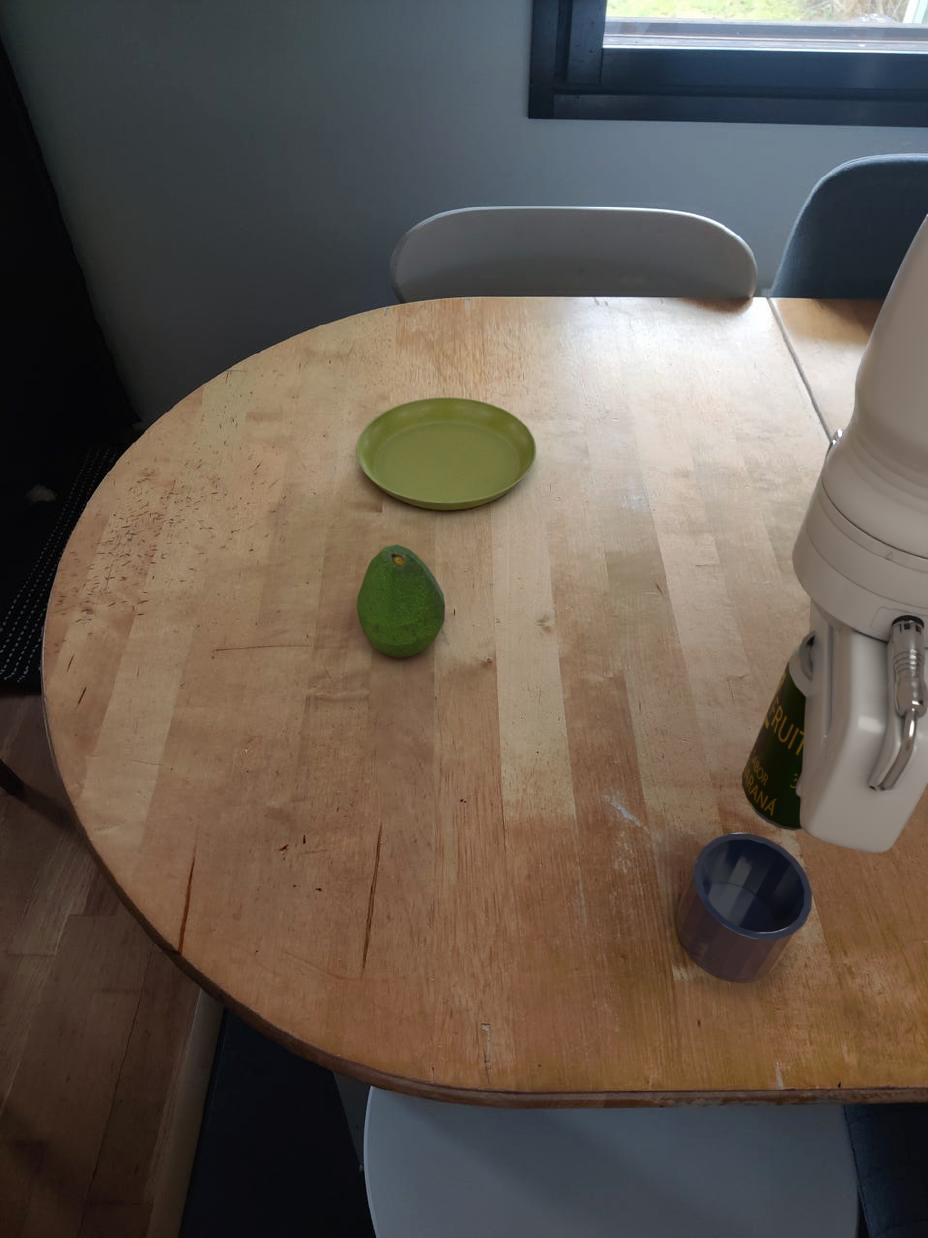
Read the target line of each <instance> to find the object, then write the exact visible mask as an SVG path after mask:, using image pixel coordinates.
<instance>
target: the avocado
mask: <svg viewBox="0 0 928 1238" xmlns="http://www.w3.org/2000/svg"><path fill="white" fill-rule="evenodd" d="M356 611H357V617H358V622H359V625H360V627H361V629H362V632H363V633H364V635H365V636H366V638H367V641H369V643H370V644H371V646H373V647H374V649H376V650H378V651H379V652H381V653H382V654H384V655H386V656H389V657H394V658H398V659H400V658H408V657H412V656H415V655H417V654H420V653H421V652H423V651H425V650H426V649H428V648H429V647H430V646H431V645H432V644H433V643H434V641H436V638H437V637H438V635H439V633H440V631H441V629H442V627H443V625H444V623H445V621H446V620H445V617H446V603H445V595H444V593H443V590H442V589H441V587H440V584H439V582H438V581H437V578H436V577H435V575H434V574H433V572H432V570H431V569H430V568H429V566H427V565H426V563H425V562H424V561H423V560H422V559H421V558H420V557H419V556H418V555H417V553H415V552H413V550H411V549H410V548H408V547H406V546H402V545H400V544H394V545H392V544H391V545H388V546H384V547H383V548H382V549H381V550H380V551H379V552H377V554H375V556H374V557H373V558H372V559H371V561H369V564H368V566H367V568H366V571H365V574H364V577H363V580H362V583H361V586H360V588H359V591H358V595H357V600H356Z"/></svg>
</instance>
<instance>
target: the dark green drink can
mask: <svg viewBox="0 0 928 1238" xmlns="http://www.w3.org/2000/svg"><path fill="white" fill-rule="evenodd" d="M814 634H815V630H814V631H812V632H810V633H809V632H808V634H806V636H804V637H803V639H802V641H801V643H800V644H798V645H797V646H796V647H795V648H794V649H792V652H791V655H790V657H789V659H788V661H787V664H786V666H785V669H784V670H783V674H782V676H781V679H780V681H779V683H778V686H777V688H776V690H775V693H774V695H773V698H772V700H771V703H770V705H769V708H768V710H767V712H766V715H765V717H764V719H763V722H762V724H761V727H760V730H759V732H758V734H757V737H756V739H755V742H754V744H753V746H752V748H751V751H750V753H749V756H748V759H747V761H746V764H745V766H744V768H743V771H742V774H741V787H742V789H743V792H744V795H745V798H746V800H747V803H748V806H750V808H751V809H752V811H753V812H754V813H755V814H756V815H757V816H758V817H760V818H761V819H762V820H763V821H765V823H767V824H769V825H772V826H774V827H776V828H778V829H783V830H787V831H792V832H794V831H796V832H797V831H804V830H803V829H802V827H801V824H800V804H801V797H800V796H798V795H797V794H796V781H797V769H798V767H799V766H800V764H801V761H802V759H803V742H804V722H805V703H806V695H807V692H808V688H809V685H810V682H811V681H812V679H813V673H812V672H811V667H812V665H813V656H814V644H813V647H812V639H813V637H814Z"/></svg>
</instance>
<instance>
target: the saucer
mask: <svg viewBox="0 0 928 1238" xmlns="http://www.w3.org/2000/svg"><path fill="white" fill-rule="evenodd" d="M355 452H356V458H357V459H356V460H357V461H358V465H359V466H360V468H361V470H362V471H363V472H364V473H365V475H366V477H368V478H369V479H370V481H371V482H372V483H373V484H375V485H376V486H377V487H378V488H379V489H380V490H382V491H384V492H385V493H387V494H388V495H389V496H391V497H393V498H395V499H397V500H399V501H401V502H403V503H407V504H409V505H412V506H415V507H419V508H423V509H428V510H429V509H430V510H436V511H437V510H438V511H456V510H458V511H459V510H464V509H465V510H466V509H470V508H476V507H478V506H482V505H485V504H487V503H491V502H492V501H495V500H496V499H499V498H500V497H502V496H504V495H505V494H507V493H509V492H510V491H511V490H512V489H514V488H515V487H516V486H518V484H519V483H520V482H521V481H522V480H523V479H524V478H525V477H526V476H527V475H528V473H530V471H531V469H532V467H533V466H534V463H535V460H536V458H537V445H536V441H535V437H534V435H533V434H532V432H531V430H530V428H529V427H528V426H527V425H526V424H525V423H524V422H523V421H522V420H521V419H519V418H518V417H517V416H516V415H514V414H513V413H511V412H510V411H508V410H506V409H504V408H502V407H499V406H496V405H494V404H490V403H489V402H484V401H482V400H476V399H471V398H464V397H450V396H449V397H447V396H446V397H443V396H442V397H441V396H440V397H430V398H421V399H416V400H412V401H407V402H404V403H401V404H398V405H396V406H393V407H391V408H389V409H387V410H385V411H383V412H381V413H380V414H379V415H377V416H376V417H374V418H373V419H371V421H370V422H369V423H367V424H366V425H365V427H364V428H363V429H362V431H361V432H360V434H359V435H358V439H357V442H356V447H355Z"/></svg>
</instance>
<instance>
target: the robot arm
mask: <svg viewBox="0 0 928 1238" xmlns="http://www.w3.org/2000/svg"><path fill="white" fill-rule="evenodd" d="M852 410H853V411H852V415H851V417H850V419H849V422H848V424H847V426H846V427H845V429H842V428H839V429H837V430H835V431H834V433H833V435H832V437H831V439H830V442H829V444H828V448H827V450H826V454H825V457H824V461H823V464H822V467H821V470H820V473H819V476H818V478H817V481H816V484H815V486H814V489H813V492H812V495H811V497H810V500H809V502H808V505H807V508H806V510H805V514H804V517H803V520H802V522H801V524H800V527H799V531H798V533H797V536H796V537H795V538H796V539H795V541H794V544H793V548H792V552H791V555H792V556H791V558H792V559H791V560H792V567H793V570H794V573H795V576H796V579H797V580H798V582H799V584H800V585H801V587H802V589H803V591H804V592H805V593H806V594H807V595H808V597H809V598H810V600H809V601H810V602H809V622H808V624H809V625H808V634H809V633H810V632H812V631H814V630H815V634H814V637H813V639H812V647H813V644H814V656H813V665H812V667H811V672H812V673H813V679H812V681H811V682H810V685H809V688H808V692H807V695H806V703H805V722H804V742H803V759H802V761H801V764H800V766H799V767H798V769H797V781H796V794H797V795H798V796H800V797H801V804H800V824H801V827H802V829H803V830H802V831H803V832H805V833H806V834H807V835H809V836H811V837H813V838H814V839H817V840H819V841H822V842H824V843H827V844H830V845H833V846H838V847H840V848H844V849H849V850H853V851H858V852H863V853H869V854H881V853H882V854H883V853H884V852H887V851H889V850H890V849H891V848H892V847H893V846H894V845H895V843H896V842H897V841H898V838H899V837H900V835H901V833H902V831H903V830H904V828H905V826H906V825H907V823H908V821H909V820H910V819H911V817H912V814H913V813H914V811H915V809H916V807H917V805H918V803H919V802H920V800H921V798H922V796H923V794H924V793H925V790H926V788H927V786H928V213H927V214H926V216H925V217H924V219H923V220H922V223H921V225H920V227H919V228H918V230H917V232H916V234H915V235H914V237H913V240H912V242H911V243H910V246H909V247H908V249H907V252H906V253H905V255H904V257H903V260H902V262H901V263H900V266H899V268H898V270H897V271H896V274H895V276H894V279H893V281H892V283H891V286H890V288H889V291H888V292H887V295H886V296H885V299H884V301H883V304H882V306H881V308H880V311H879V313H878V316H877V318H876V322H875V323H874V326H873V328H872V330H871V333H870V336H869V339H868V341H867V344H866V346H865V349H864V352H863V354H862V357H861V359H860V362H859V365H858V367H857V372H856V376H855V381H854V405H853V409H852Z"/></svg>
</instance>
